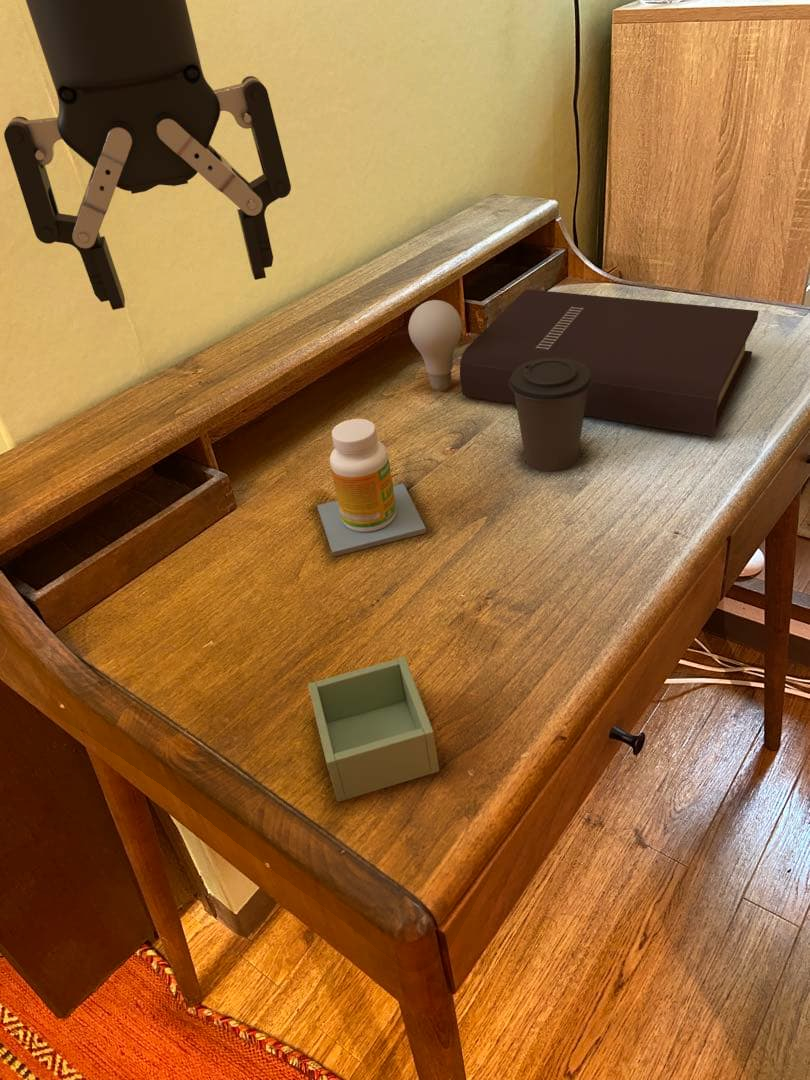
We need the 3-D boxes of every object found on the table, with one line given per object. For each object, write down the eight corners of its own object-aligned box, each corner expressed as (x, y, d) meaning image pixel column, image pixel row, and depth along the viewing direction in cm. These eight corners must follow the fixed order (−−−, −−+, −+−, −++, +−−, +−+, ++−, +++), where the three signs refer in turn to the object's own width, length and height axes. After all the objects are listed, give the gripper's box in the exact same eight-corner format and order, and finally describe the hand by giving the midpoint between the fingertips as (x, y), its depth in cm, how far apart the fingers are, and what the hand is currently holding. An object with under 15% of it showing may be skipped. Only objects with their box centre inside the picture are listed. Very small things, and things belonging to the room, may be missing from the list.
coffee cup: (504, 442, 88) (500, 356, 82) (579, 431, 88) (581, 344, 82) (520, 484, 81) (516, 395, 75) (601, 472, 81) (604, 381, 75)
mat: (333, 557, 76) (332, 552, 76) (318, 509, 82) (317, 505, 82) (426, 532, 77) (425, 527, 77) (404, 488, 83) (403, 483, 83)
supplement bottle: (396, 531, 77) (382, 442, 71) (339, 535, 77) (321, 448, 71) (397, 497, 81) (384, 411, 75) (343, 502, 82) (326, 417, 76)
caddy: (337, 802, 55) (326, 763, 53) (318, 722, 61) (307, 683, 58) (439, 771, 56) (433, 731, 54) (411, 695, 62) (404, 655, 59)
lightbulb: (440, 373, 102) (432, 287, 95) (477, 386, 98) (471, 298, 91) (405, 393, 99) (394, 306, 92) (442, 407, 95) (433, 318, 88)
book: (461, 403, 95) (457, 356, 92) (526, 332, 108) (525, 289, 104) (710, 444, 83) (717, 392, 79) (751, 358, 96) (758, 310, 92)
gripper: (235, -56, 44) (294, 248, 54) (-42, -15, 42) (73, 293, 52) (251, -55, 38) (314, 286, 48) (-70, -7, 36) (66, 339, 46)
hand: (189, 289), depth 50 cm, fingers open, 8 cm apart
